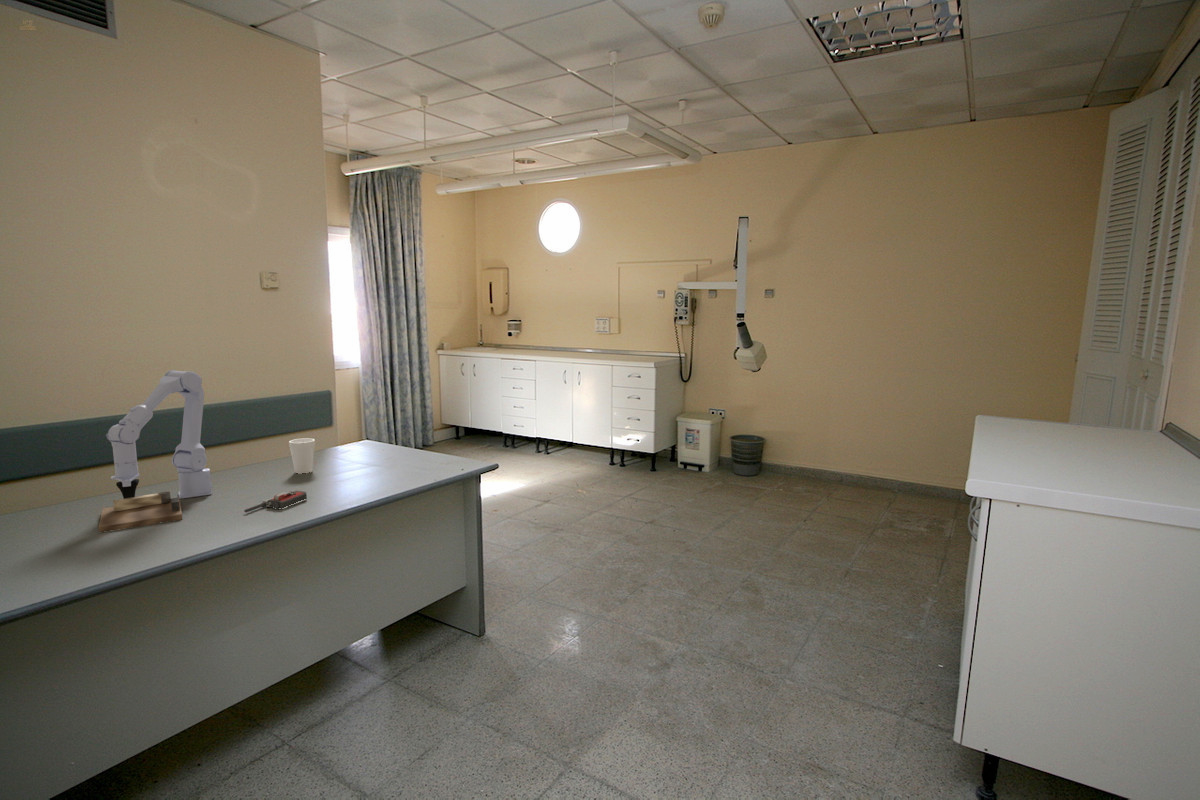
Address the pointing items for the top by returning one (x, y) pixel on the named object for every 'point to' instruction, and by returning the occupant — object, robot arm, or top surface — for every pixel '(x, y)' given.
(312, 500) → the top surface
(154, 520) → the stool seat
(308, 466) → the foam cup
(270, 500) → the walkie-talkie
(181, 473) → the robot arm
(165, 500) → the folding leg
